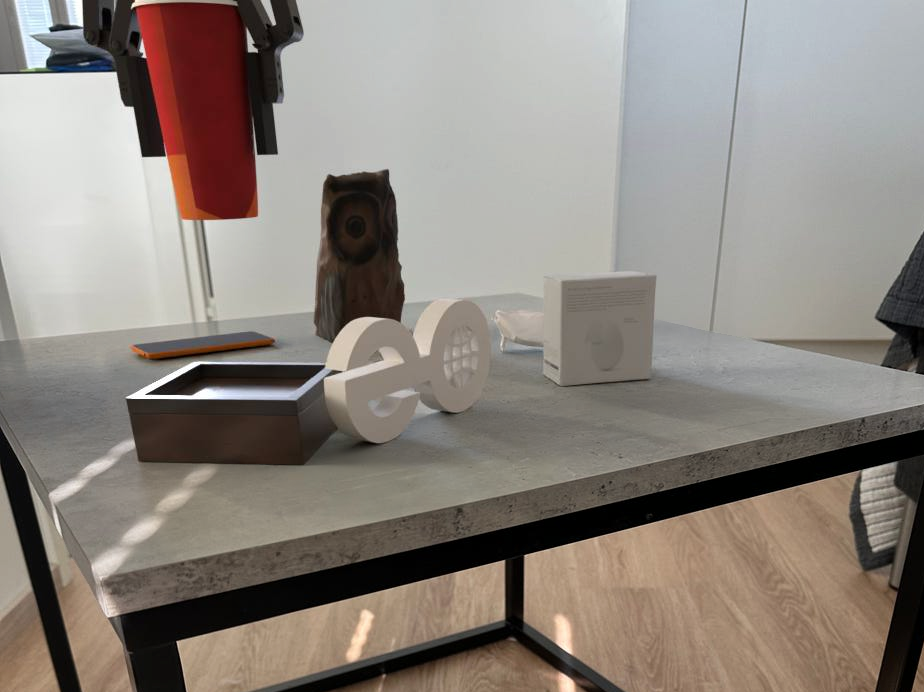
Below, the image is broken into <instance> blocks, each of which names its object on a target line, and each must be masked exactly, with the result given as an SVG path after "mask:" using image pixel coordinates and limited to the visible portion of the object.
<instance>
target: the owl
mask: <svg viewBox="0 0 924 692" xmlns="http://www.w3.org/2000/svg"><path fill="white" fill-rule="evenodd" d="M390 182H391V181H390V170H389V168H384V169H381V170H377V171H372V172H371V171H362V172H350V173H348V174H340V175H337V176H336V175H333V174H330V173H328V174H327V175H326V178H325V179H324V181H323V183H322V193H321V204H320V241H319V249H318V253H317V260H316V275H315V276H316V277H315V295H314V308H313V309H314V312H313V324H314V326H315V336H317V337H320V338H322V339H323V340H327V341H328V342H329V343H332V344H333V342H334V340H335V339H336V337H337V335H338V334H339V332H340V331H341V330H342V329H343V328H344V327H345V326H346V325H347V324H348V323H349V322H351V321H353V320H355V319H358V318H363V317H375V318H386V319H393V320H396V321H398V322H400V323H401V324H402V315H403V310H404V309H403V308H404V303H405V302H406V295H405V283H404V280H403V279H402V269H403V268H402V267H403V266H402V264H401V262H400V260H399V257H400V253H399V247H398V242H399V241H398V240H399V222H398V220H399V219H398V213H397V198H396V194H395V192H394V190H393V187H392V185H391V183H390Z"/></svg>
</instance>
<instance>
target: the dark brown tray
mask: <svg viewBox="0 0 924 692" xmlns="http://www.w3.org/2000/svg"><path fill="white" fill-rule="evenodd" d="M325 365H326V362H281V361H280V362H279V361H278V362H277V361H276V362H273V361H271V362H268V361H267V362H265V361H264V362H263V361H262V362H261V361H260V362H259V361H193V362H191V363H190V364H188V365H186V366H184V367H182V368H180V369H178V370H177V371H174V372H173V373H171V374H169V375H167V376H165V377H163V378H161V379H160V380H158V381H156V382H154V383H152V384H149V385H148V386H145V387H144V388H142V389H140V390H139V391H137V392H135V393H133V394H131V395H129V396H127V397H125V401H126V407H127V412H128V416H129V421H130V427H131V431H132V437H133V441H134V446H135V451H136V457H137V462H146V463H147V462H150V463H151V462H153V463H155V462H156V463H192V464H193V463H195V464H196V463H197V464H198V463H201V464H240V465H241V464H245V465H246V464H247V465H249V464H250V465H288V466H289V465H292V466H293V465H294V466H295V465H296V466H304V465H305V464H306V462H307V461H308V460H309V459H310V458H312V456H313V455H314V454H315V453H316V452H317V451H318V450H319V449H320V448H321V447H322V446H323V444H324V443H326V441H327V440H328V439H329V438H330V437H331V436H332V435H333V434H334V433H335V432H336V431H337V430H338V428H337V426H336V425H335V423H334V422H333V420H332V418H331V416H330V414H329V412H328V409H327V405H326V400H325V391H324V378H325V377H329V376H332V375H336V374H339V373H342V372H343V371H339V370H332V369H325Z"/></svg>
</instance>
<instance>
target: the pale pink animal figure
mask: <svg viewBox="0 0 924 692" xmlns="http://www.w3.org/2000/svg"><path fill="white" fill-rule="evenodd" d="M490 317H491V321H493V322H494V323H495V325H496V327H497V329H498V330H499V332H500V337H501V341H500V342H499V344H500V346H499V347H498V350H499V351H501V352H500V354H503V352H504V350H505V347H506V341H507V340H508V341H510V342H511V343H515V344H518V345H521V346H526V347H535V348H543V342H544V312H539V311H535V310H529V309H523V310H504V309H496V311H495V314H490Z"/></svg>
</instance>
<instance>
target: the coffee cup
mask: <svg viewBox="0 0 924 692" xmlns="http://www.w3.org/2000/svg"><path fill="white" fill-rule="evenodd" d="M138 5H140V6H138ZM135 6H137V7H136V11H137V16H138V20H139V25H140V30H141V35H142V43H143V49H144V53H145V58H146V59H147V63H148V68H149V73H150V78H151V83H152V87H153V92H154V97H155V102H156V107H157V111H158V116H159V121H160V126H161V130H162V135H163V140H164V146H165V152H166V159H167V163H168V168H169V172H170V176H171V177H170V178H171V182H172V186H173V190H174V194H175V195H174V196H175V199H176V204H177V208H178V212H179V215H180V219H181V220H184V221H224V220H225V221H226V220H227V221H228V220H242V219H243V220H244V219H253V218H257V217H259V197H258V179H257V177H258V176H257V163H256V162H257V160H256V144H255V132H254V124H253V115H252V106H251V98H250V89H249V81H248V72H247V63H246V55H245V52H249V45H248V29H247V27H246V25H245V23H244V21H243V19H242V17H241V15H240V13H239V11H238V9H237V7H236V6H238V5H237V2H236V1H233V0H135V3H133V4H132V7H131V9H132V8H133V7H135Z"/></svg>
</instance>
